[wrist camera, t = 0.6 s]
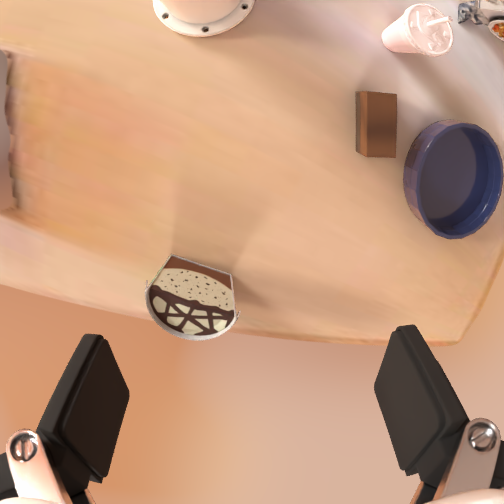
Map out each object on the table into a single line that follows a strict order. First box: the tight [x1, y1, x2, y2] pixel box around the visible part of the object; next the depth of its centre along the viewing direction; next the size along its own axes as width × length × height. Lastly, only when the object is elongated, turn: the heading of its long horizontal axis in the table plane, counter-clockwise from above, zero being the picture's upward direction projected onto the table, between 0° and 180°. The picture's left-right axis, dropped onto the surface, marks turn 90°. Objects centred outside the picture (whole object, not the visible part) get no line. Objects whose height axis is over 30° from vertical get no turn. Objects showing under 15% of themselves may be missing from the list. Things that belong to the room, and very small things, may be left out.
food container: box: [145, 254, 241, 340], centre depth 42 cm, size 12×6×10 cm, turn 68°
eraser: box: [356, 91, 397, 158], centre depth 34 cm, size 8×4×4 cm, turn 3°
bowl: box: [403, 120, 503, 239], centre depth 37 cm, size 17×17×4 cm
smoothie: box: [382, 3, 453, 57], centre depth 24 cm, size 6×6×14 cm
